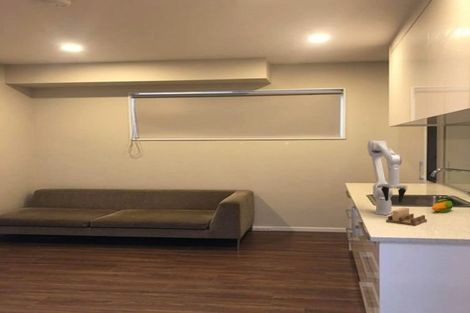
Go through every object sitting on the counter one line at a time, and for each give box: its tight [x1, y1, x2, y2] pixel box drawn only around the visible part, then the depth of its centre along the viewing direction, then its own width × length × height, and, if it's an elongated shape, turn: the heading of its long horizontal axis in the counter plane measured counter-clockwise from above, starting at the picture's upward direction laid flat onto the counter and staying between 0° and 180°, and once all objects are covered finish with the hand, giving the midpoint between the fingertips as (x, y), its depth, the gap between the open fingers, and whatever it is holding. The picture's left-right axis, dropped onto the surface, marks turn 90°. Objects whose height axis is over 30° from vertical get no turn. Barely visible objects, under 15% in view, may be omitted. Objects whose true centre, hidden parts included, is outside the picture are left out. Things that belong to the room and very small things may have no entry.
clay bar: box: [391, 207, 410, 221], centre depth 231 cm, size 14×3×5 cm, turn 136°
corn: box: [431, 198, 454, 214], centre depth 258 cm, size 7×8×20 cm
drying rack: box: [385, 213, 428, 227], centre depth 229 cm, size 16×15×3 cm
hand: (393, 201), depth 238 cm, fingers open, 7 cm apart
